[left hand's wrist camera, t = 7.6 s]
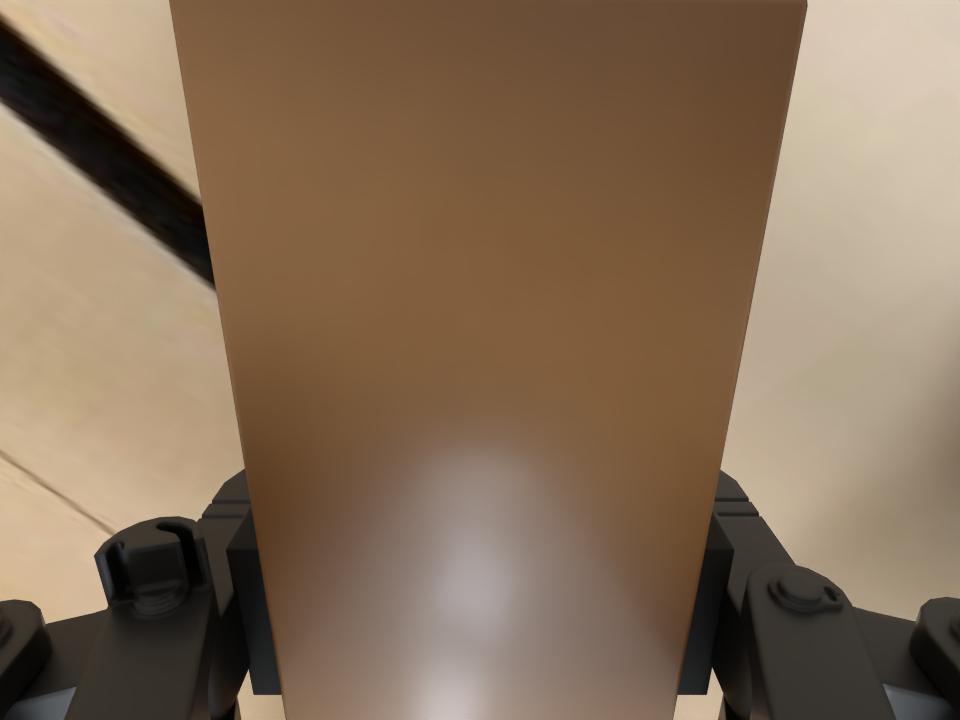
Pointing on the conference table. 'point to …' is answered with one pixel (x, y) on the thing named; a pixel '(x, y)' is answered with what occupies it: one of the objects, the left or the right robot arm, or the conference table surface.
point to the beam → (484, 330)
